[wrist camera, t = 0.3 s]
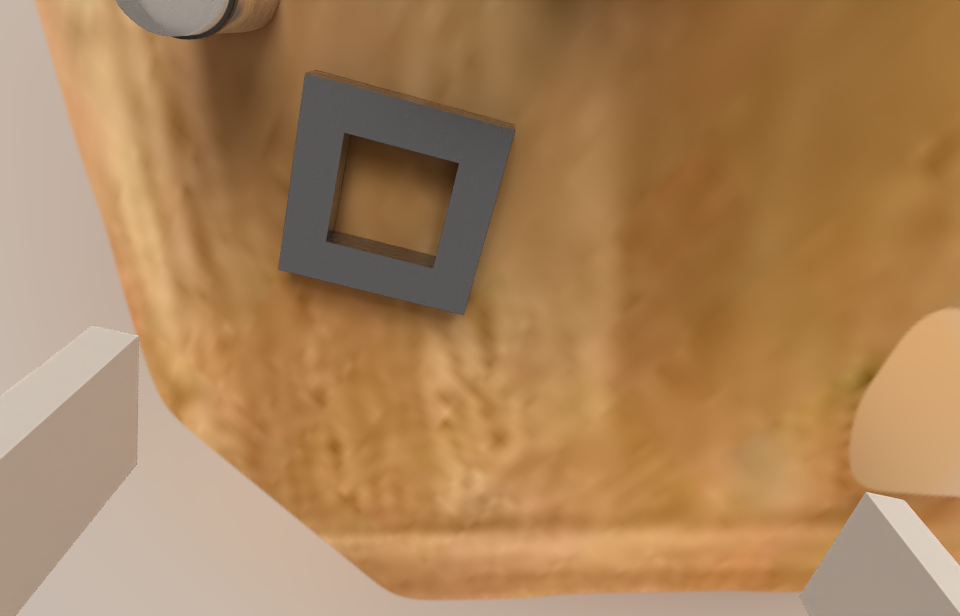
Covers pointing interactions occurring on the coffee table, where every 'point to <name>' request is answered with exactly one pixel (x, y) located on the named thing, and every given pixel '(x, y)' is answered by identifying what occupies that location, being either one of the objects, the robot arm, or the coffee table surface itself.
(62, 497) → the robot arm
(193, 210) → the coffee table surface
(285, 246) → the bore plate
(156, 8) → the piston
